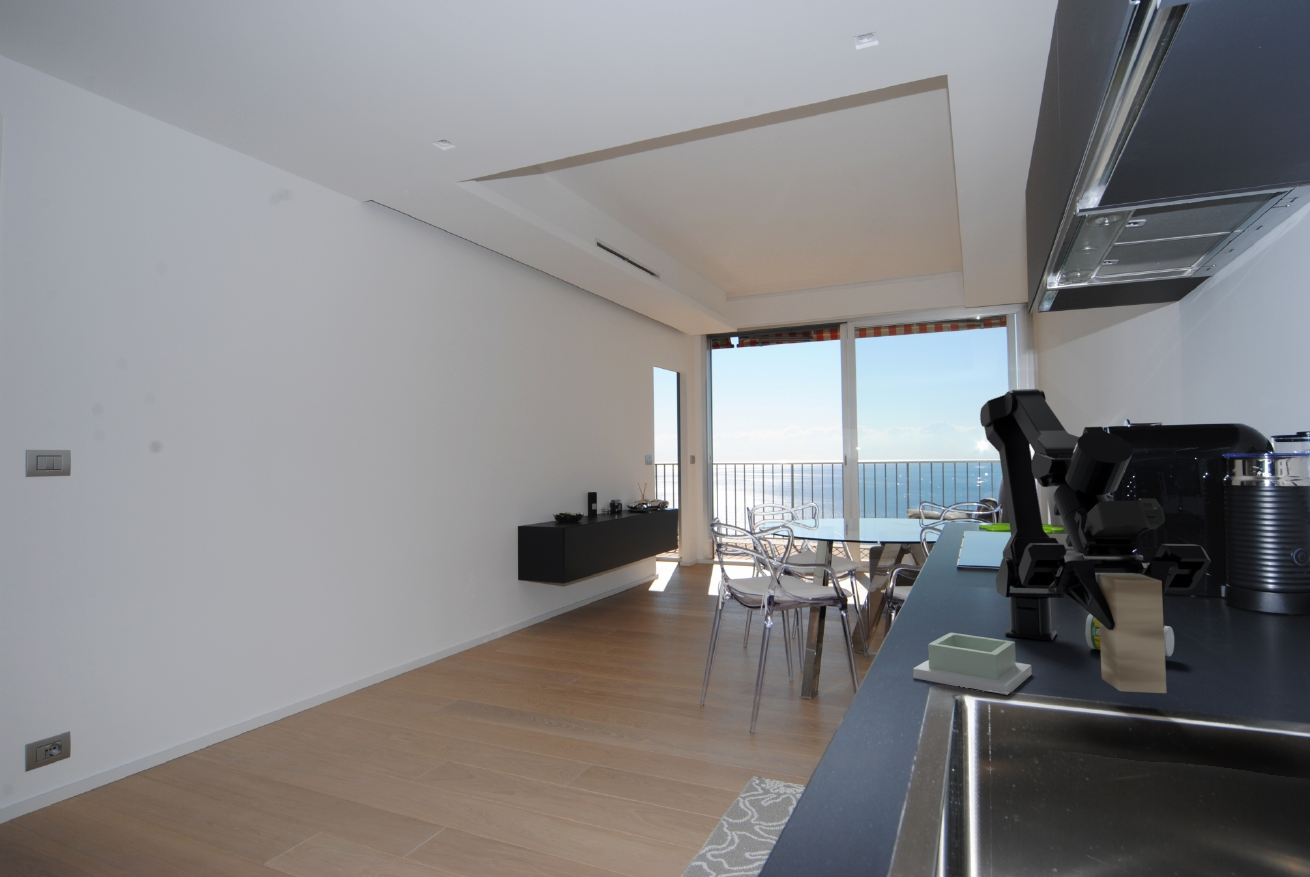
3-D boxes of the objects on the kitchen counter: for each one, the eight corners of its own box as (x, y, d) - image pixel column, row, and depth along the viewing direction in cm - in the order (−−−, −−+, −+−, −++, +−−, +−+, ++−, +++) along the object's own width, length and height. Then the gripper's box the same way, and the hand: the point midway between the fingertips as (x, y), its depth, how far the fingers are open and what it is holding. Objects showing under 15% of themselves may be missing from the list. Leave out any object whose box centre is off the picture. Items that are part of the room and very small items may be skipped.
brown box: (1101, 678, 79) (1097, 573, 80) (1145, 680, 78) (1140, 574, 79) (1120, 691, 75) (1115, 580, 75) (1166, 693, 74) (1161, 580, 75)
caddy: (944, 659, 96) (943, 629, 96) (1031, 674, 89) (1030, 641, 89) (913, 677, 88) (912, 644, 88) (1006, 696, 80) (1005, 659, 81)
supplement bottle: (1091, 655, 101) (1171, 670, 93) (1081, 632, 99) (1161, 645, 91) (1100, 626, 103) (1178, 638, 96) (1090, 603, 101) (1169, 613, 94)
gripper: (1022, 476, 83) (1061, 583, 72) (1197, 474, 80) (1266, 587, 68) (1005, 535, 91) (1038, 640, 79) (1163, 536, 87) (1221, 646, 76)
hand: (1136, 628), depth 76 cm, fingers closed on brown box, 4 cm apart
